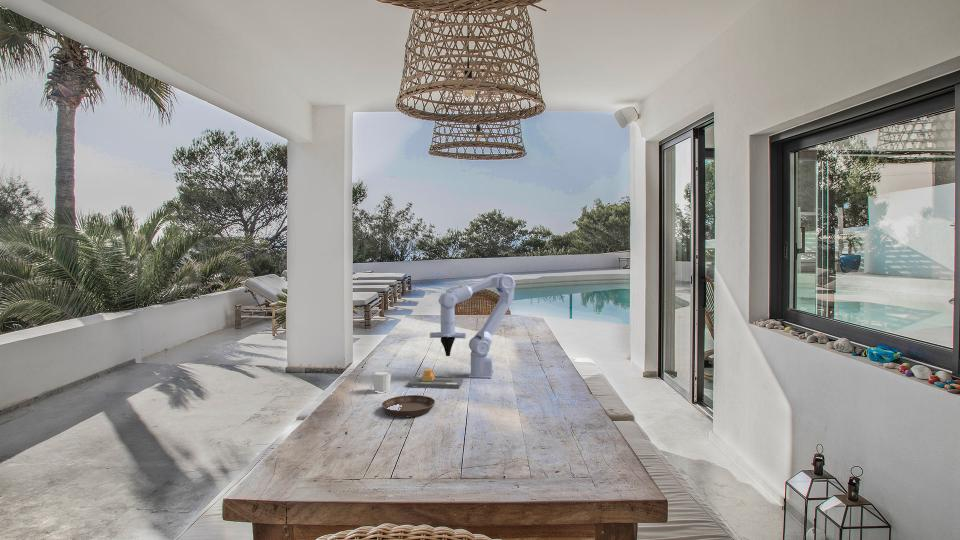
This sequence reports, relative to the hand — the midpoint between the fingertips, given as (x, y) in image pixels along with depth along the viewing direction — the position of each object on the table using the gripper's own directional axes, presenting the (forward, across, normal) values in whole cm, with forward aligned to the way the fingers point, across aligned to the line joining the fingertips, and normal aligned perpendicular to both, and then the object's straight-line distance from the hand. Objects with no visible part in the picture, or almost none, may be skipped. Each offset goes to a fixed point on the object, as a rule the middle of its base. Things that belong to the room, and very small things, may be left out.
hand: (448, 355), depth 239 cm
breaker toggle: (+8, -6, -10) cm, 14 cm away
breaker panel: (+9, -3, -10) cm, 14 cm away
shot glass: (+10, -21, -22) cm, 32 cm away
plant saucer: (+10, -5, -44) cm, 45 cm away
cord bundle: (+9, -4, -1) cm, 10 cm away
